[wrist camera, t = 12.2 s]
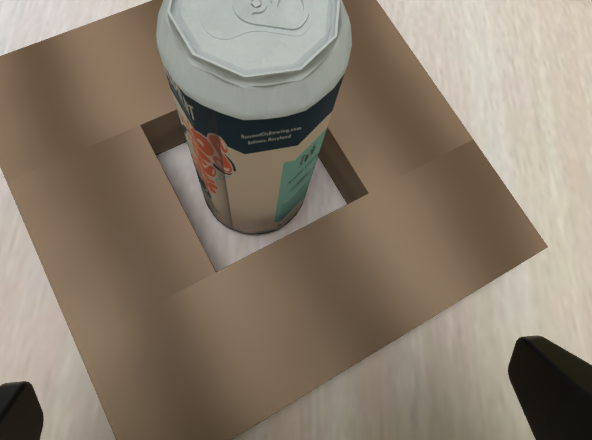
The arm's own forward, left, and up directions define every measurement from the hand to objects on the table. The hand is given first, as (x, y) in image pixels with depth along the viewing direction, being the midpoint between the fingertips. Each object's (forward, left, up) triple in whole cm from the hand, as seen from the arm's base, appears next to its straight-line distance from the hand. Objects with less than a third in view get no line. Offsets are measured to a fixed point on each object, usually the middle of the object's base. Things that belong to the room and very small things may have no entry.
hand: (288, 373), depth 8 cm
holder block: (+3, +8, -12) cm, 14 cm away
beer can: (+3, +7, -12) cm, 14 cm away
